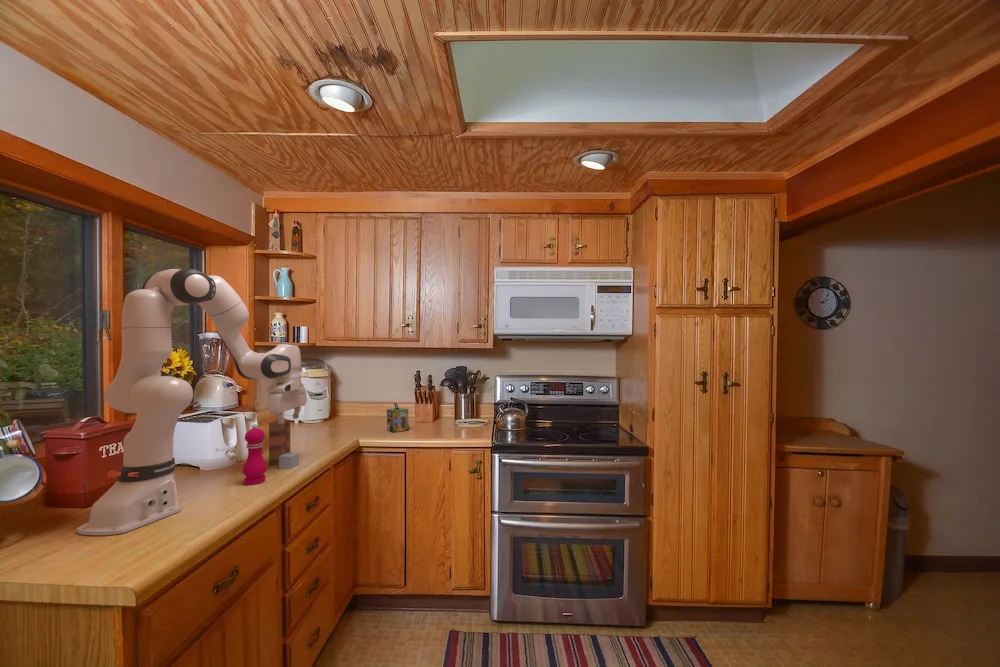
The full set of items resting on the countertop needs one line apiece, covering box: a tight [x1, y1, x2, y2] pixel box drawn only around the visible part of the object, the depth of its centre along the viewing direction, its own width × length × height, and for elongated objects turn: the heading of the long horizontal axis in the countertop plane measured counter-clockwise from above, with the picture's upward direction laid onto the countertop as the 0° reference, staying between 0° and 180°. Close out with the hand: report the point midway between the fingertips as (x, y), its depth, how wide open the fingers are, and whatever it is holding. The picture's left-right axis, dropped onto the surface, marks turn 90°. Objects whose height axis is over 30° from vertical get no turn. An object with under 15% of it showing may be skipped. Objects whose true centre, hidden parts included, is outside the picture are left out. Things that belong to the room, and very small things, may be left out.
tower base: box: [268, 447, 291, 466], centre depth 168 cm, size 6×6×6 cm
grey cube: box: [278, 452, 300, 470], centre depth 163 cm, size 5×5×5 cm
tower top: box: [268, 420, 291, 438], centre depth 169 cm, size 6×6×6 cm
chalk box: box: [386, 402, 410, 434], centre depth 229 cm, size 9×9×15 cm
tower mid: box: [268, 434, 291, 452], centre depth 169 cm, size 6×6×6 cm
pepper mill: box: [242, 423, 268, 486], centre depth 146 cm, size 7×7×20 cm
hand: (288, 420), depth 163 cm, fingers open, 8 cm apart
